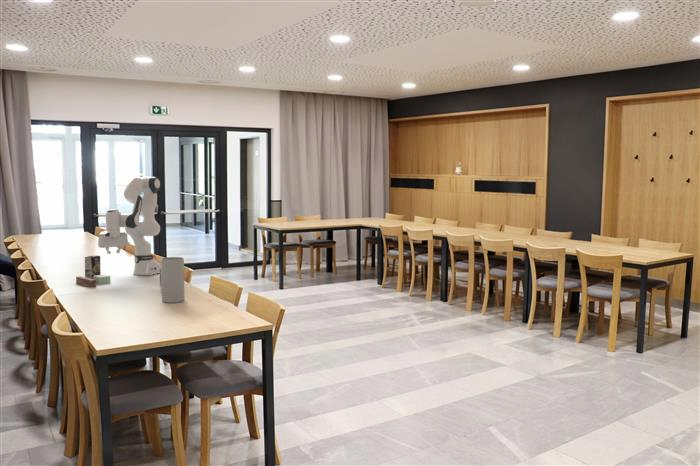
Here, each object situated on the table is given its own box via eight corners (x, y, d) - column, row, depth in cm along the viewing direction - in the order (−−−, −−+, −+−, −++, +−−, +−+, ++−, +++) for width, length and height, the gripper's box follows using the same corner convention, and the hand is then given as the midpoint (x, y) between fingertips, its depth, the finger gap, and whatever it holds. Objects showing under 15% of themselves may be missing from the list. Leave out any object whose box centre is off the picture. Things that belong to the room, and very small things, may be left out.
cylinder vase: (172, 304, 343) (171, 260, 341) (157, 301, 350) (156, 258, 348) (188, 300, 354) (188, 258, 352) (174, 297, 361) (173, 256, 358)
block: (104, 281, 411) (104, 274, 410) (110, 283, 405) (110, 275, 405) (93, 283, 405) (93, 275, 404) (98, 284, 400) (98, 277, 399)
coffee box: (93, 280, 413) (92, 257, 411) (84, 280, 414) (84, 256, 413) (101, 278, 422) (100, 255, 420) (92, 278, 423) (92, 255, 422)
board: (80, 282, 404) (80, 276, 404) (96, 286, 392) (95, 279, 391) (76, 283, 402) (76, 276, 401) (91, 287, 389) (91, 280, 389)
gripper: (124, 231, 419) (125, 251, 420) (96, 233, 403) (97, 254, 404) (129, 232, 415) (130, 252, 416) (101, 234, 399) (102, 255, 401)
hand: (113, 253), depth 410 cm, fingers open, 5 cm apart
